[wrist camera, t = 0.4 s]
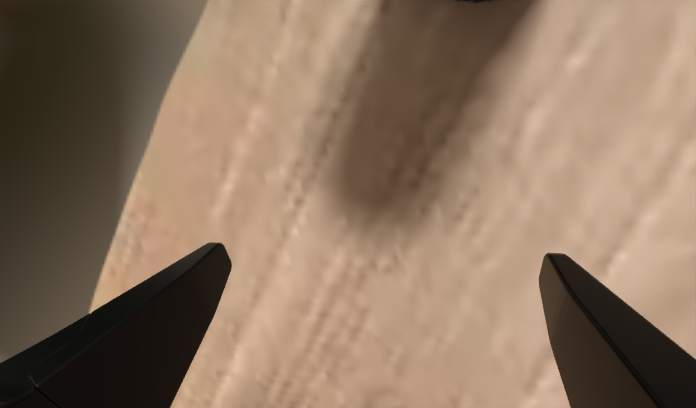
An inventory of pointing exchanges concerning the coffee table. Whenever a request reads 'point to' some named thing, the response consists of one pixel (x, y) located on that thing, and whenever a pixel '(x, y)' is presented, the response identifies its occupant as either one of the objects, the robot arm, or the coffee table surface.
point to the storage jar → (474, 1)
